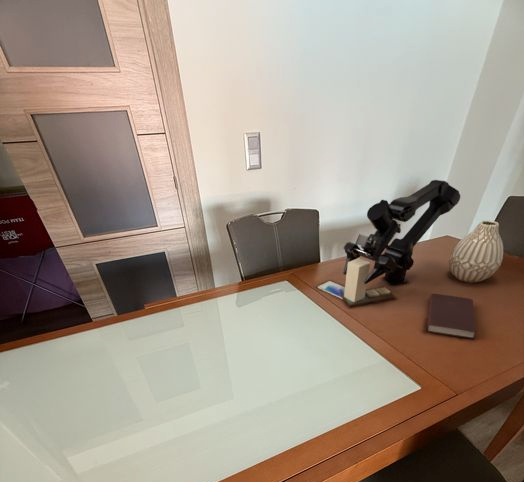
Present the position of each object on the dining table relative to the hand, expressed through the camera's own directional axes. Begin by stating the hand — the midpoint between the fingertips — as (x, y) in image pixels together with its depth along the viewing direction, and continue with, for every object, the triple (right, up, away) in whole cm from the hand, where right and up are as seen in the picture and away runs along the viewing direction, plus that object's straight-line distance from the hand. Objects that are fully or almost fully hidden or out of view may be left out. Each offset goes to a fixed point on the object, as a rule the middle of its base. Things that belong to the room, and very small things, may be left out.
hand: (354, 278), depth 101 cm
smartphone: (-2, -2, +12) cm, 13 cm away
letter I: (+2, -5, +6) cm, 8 cm away
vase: (+47, +3, +13) cm, 49 cm away
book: (+28, -14, -6) cm, 32 cm away
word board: (+7, -5, +7) cm, 11 cm away
